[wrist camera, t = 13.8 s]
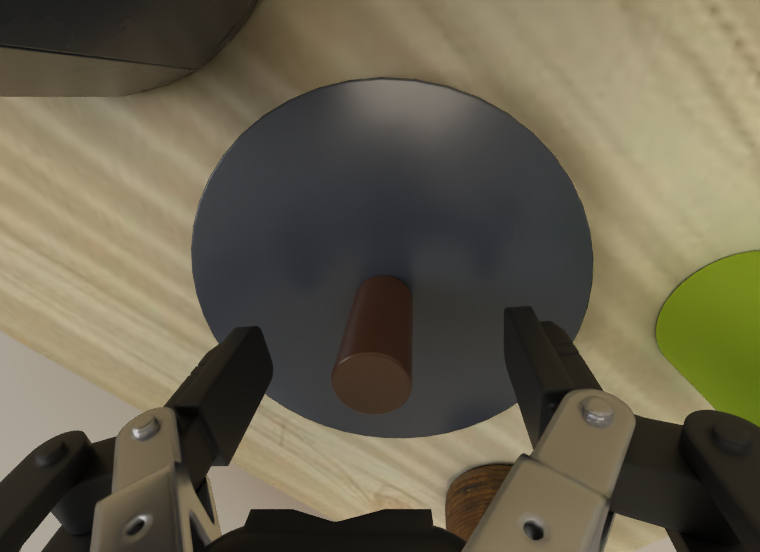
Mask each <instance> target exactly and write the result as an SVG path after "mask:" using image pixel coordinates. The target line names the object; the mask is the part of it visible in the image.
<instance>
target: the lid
mask: <svg viewBox="0 0 760 552" xmlns="http://www.w3.org/2000/svg"><path fill="white" fill-rule="evenodd" d="M191 255H192V273H193V278H194V283H195V288H196V293H197V297H198V300H199V303H200V306H201V309H202V312H203V315H204V317H205V319H206V321H207V323H208V325H209V327H210V329H211V331H212V333H213V335H214V337H215V338H216V340H217V342H218V343H219V344H220V343H223V341H224V340H225V339H226V337H227V336H228V335H229V334H230V332H231V331H232V330H233V329H234V328H236V327H248V326H258V327H260V329H261V330H262V333H263V336H264V339H265V342H266V345H267V347H268V350H269V353H270V356H271V359H272V362H273V377H272V380H271V382H270V384H269V386H268V388H267V390H266V392H265V394H266V395H267V396H269V397H270V398H272V399H273V400H275V401H276V402H278V403H279V404H281V405H282V406H284V407H285V408H287V409H289V410H291V411H293V412H295V413H297V414H299V415H300V416H302V417H304V418H307V419H309V420H312V421H314V422H316V423H319V424H321V425H324V426H327V427H330V428H334V429H337V430H340V431H344V432H349V433H354V434H359V435H363V436H372V437H381V438H415V437H427V436H433V435H439V434H444V433H449V432H453V431H456V430H460V429H463V428H467V427H470V426H472V425H475V424H477V423H480V422H483V421H485V420H488V419H489V418H491V417H493V416H495V415H497V414H499V413H501V412H503V411H505V410H507V409H508V408H510V407H511V406H513V405H514V404H516V403H517V402H518V401H517V398H516V395H515V392H514V389H513V386H512V383H511V380H510V377H509V374H508V371H507V368H506V364H505V358H504V309H505V308H508V307H521V306H531V307H532V309H533V311H534V312H535V314H536V316H537V318H538V320H539V322H541V321H552V322H554V323H555V324H556V325H558V326H559V327H561V328H562V329H564V330H565V331H566V333H567V334H568V336H569V338H570V339H571V341H572V343H573V341H574V339H575V337H576V335H577V333H578V331H579V329H580V327H581V324H582V321H583V318H584V315H585V313H586V310H587V307H588V302H589V297H590V292H591V287H592V277H593V251H592V242H591V234H590V229H589V225H588V222H587V218H586V215H585V211H584V208H583V205H582V202H581V200H580V198H579V196H578V194H577V192H576V190H575V188H574V185H573V183H572V181H571V179H570V178H569V176H568V175H567V173H566V172H565V170H564V169H563V167H562V166H561V165H560V163H559V162H558V160H557V159H556V157H555V156H554V155H553V153H552V152H551V151H550V150H549V149H548V148H547V147H546V146H545V145H544V144H543V143H542V142H541V141H540V140H539V139H538V138H537V136H536V135H535V134H534V133H533V132H531V131H530V130H529V129H527V128H526V127H525V126H524V125H522V124H521V123H520V122H518V121H517V120H516V119H515V118H513V117H512V116H511V115H509V114H508V113H506V112H504V111H503V110H501V109H499V108H497V107H495V106H494V105H492V104H490V103H488V102H486V101H485V100H483V99H481V98H479V97H476V96H474V95H471V94H468V93H466V92H463V91H460V90H458V89H455V88H452V87H450V86H446V85H441V84H436V83H431V82H427V81H422V80H417V79H404V78H386V77H379V78H369V79H358V80H348V81H344V82H340V83H336V84H332V85H328V86H324V87H320V88H317V89H314V90H312V91H309V92H307V93H305V94H302V95H300V96H297V97H295V98H293V99H290V100H288V101H286V102H285V103H283V104H282V105H280V106H278V107H277V108H275V109H273V110H272V111H270V112H268V113H267V114H265V115H264V116H262V117H261V118H260V119H259V120H258V121H256V122H255V123H254V124H253V125H252V126H250V127H249V128H248V129H247V130H246V131H245V132H243V133H242V134H241V135H240V136H239V138H238V139H237V140H236V141H235V142H234V143H233V144H232V146H231V147H230V148H229V149H228V150H227V151H226V153H225V154H224V155H223V156H222V158H221V160H220V161H219V163H218V165H217V166H216V168H215V169H214V171H213V173H212V174H211V176H210V178H209V180H208V182H207V184H206V187H205V189H204V192H203V194H202V196H201V199H200V201H199V205H198V209H197V213H196V217H195V221H194V225H193V235H192V246H191Z"/></svg>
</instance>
